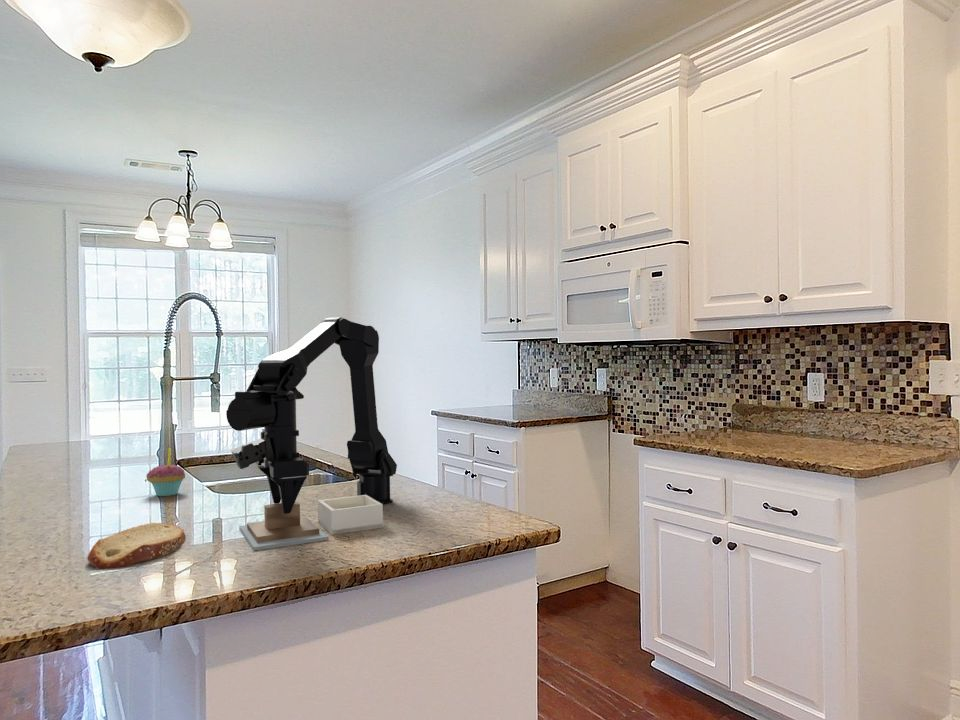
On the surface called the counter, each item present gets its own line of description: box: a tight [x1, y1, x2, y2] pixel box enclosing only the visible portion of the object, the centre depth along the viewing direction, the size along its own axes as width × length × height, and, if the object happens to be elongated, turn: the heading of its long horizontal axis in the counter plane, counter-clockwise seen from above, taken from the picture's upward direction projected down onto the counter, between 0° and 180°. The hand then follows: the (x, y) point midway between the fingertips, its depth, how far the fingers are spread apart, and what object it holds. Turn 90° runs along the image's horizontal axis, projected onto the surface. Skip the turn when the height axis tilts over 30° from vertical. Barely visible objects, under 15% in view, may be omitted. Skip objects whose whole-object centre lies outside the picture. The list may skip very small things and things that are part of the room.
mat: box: [238, 524, 329, 552], centre depth 126 cm, size 13×16×1 cm
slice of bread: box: [87, 522, 186, 570], centre depth 118 cm, size 18×18×4 cm
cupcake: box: [145, 445, 186, 497], centre depth 163 cm, size 9×8×12 cm
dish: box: [317, 495, 384, 536], centre depth 132 cm, size 10×10×4 cm
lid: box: [246, 501, 320, 543], centre depth 126 cm, size 11×11×5 cm
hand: (281, 508), depth 126 cm, fingers open, 9 cm apart
